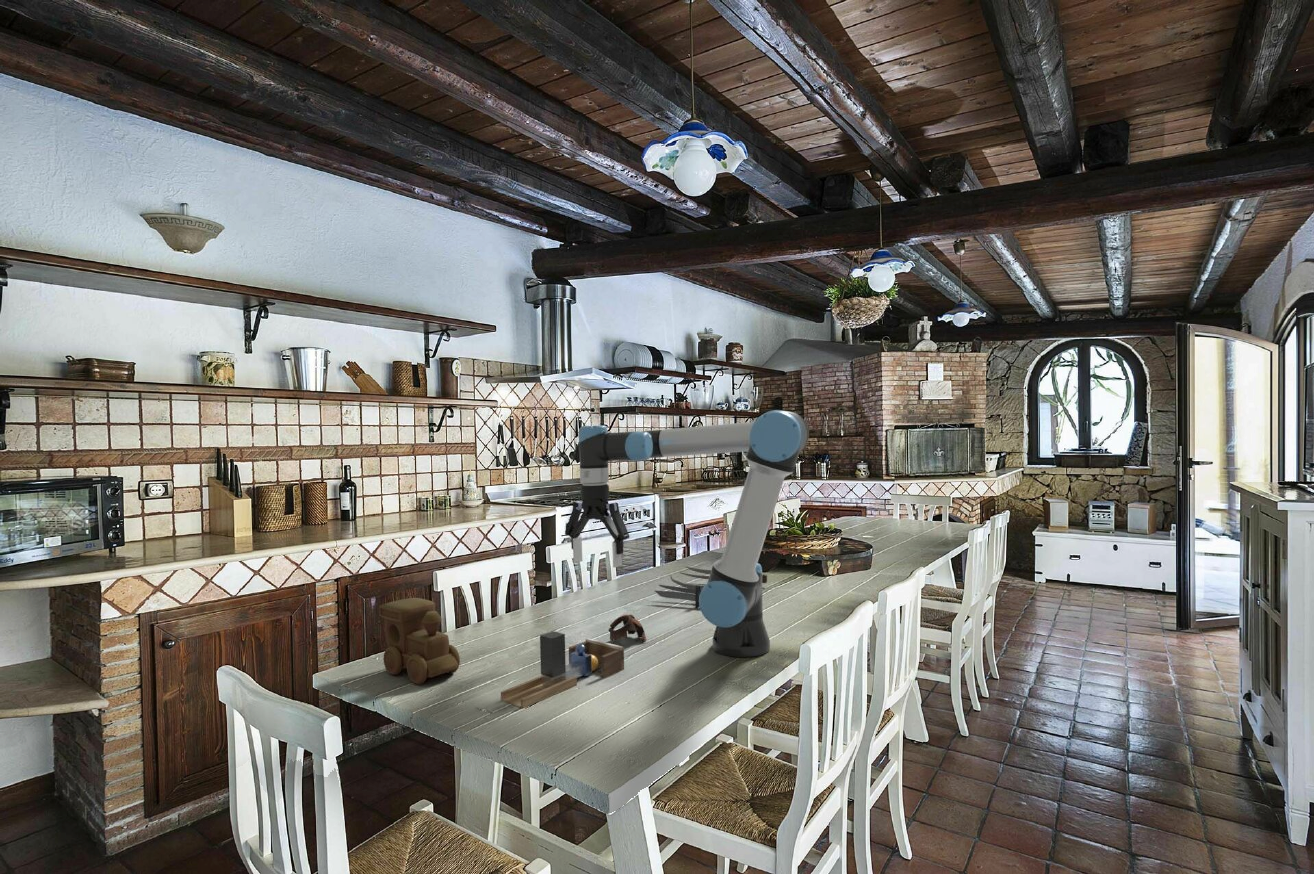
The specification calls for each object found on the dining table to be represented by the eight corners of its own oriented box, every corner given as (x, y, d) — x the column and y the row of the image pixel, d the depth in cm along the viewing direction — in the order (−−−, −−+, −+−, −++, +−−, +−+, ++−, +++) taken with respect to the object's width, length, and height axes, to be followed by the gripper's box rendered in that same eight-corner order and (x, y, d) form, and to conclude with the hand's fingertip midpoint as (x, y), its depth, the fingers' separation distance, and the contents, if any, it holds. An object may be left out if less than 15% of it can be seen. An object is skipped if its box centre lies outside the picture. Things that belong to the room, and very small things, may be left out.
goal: (624, 669, 169) (623, 646, 169) (604, 677, 163) (604, 654, 163) (588, 659, 176) (588, 637, 176) (569, 667, 171) (568, 645, 171)
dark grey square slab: (592, 673, 165) (591, 625, 165) (554, 689, 156) (553, 638, 155) (577, 669, 168) (576, 622, 168) (539, 684, 159) (538, 635, 158)
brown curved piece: (648, 648, 186) (633, 624, 184) (618, 662, 187) (602, 638, 186) (649, 624, 198) (635, 601, 196) (621, 637, 199) (607, 615, 197)
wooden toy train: (377, 671, 171) (375, 605, 170) (418, 658, 180) (416, 595, 179) (423, 690, 158) (421, 618, 158) (465, 675, 167) (463, 607, 167)
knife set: (684, 577, 262) (684, 557, 262) (769, 588, 249) (769, 567, 249) (647, 602, 230) (647, 579, 229) (742, 616, 217) (743, 592, 217)
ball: (588, 673, 165) (600, 673, 168) (591, 656, 166) (602, 656, 169) (577, 669, 167) (588, 669, 170) (579, 652, 168) (590, 653, 171)
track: (576, 684, 159) (576, 677, 159) (523, 708, 147) (523, 699, 147) (554, 678, 164) (554, 670, 164) (500, 700, 151) (500, 691, 151)
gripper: (550, 484, 186) (553, 562, 186) (623, 486, 172) (625, 571, 172) (569, 481, 192) (571, 557, 192) (640, 483, 178) (643, 565, 178)
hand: (597, 564), depth 182 cm, fingers open, 13 cm apart
